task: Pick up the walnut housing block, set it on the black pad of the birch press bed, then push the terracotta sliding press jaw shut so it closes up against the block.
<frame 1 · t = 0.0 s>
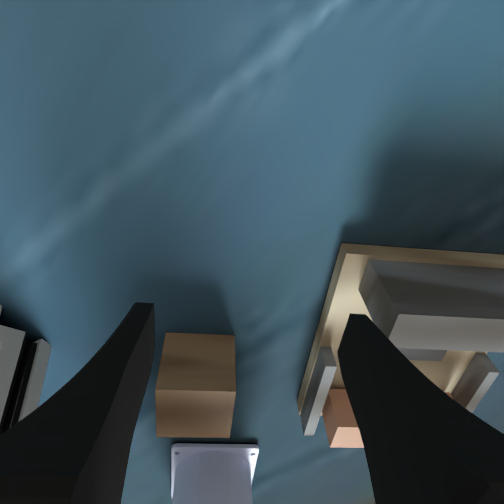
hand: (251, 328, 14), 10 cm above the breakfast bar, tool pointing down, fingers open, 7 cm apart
housing block: (199, 356, 29), on the breakfast bar
press bed: (398, 338, 29), on the breakfast bar
press jaw: (392, 418, 30), point 3 cm above the breakfast bar, slide at 0.0 cm
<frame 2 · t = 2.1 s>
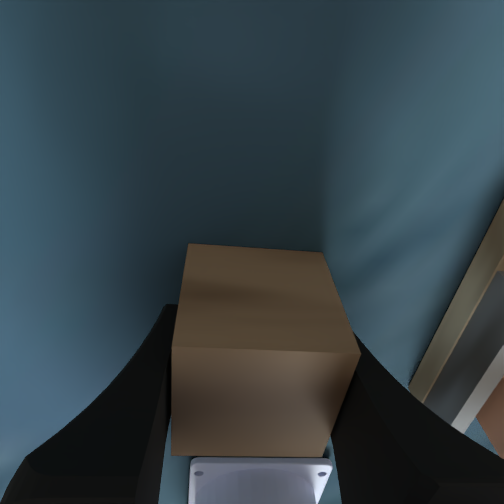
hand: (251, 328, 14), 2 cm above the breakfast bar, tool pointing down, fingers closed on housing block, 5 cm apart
housing block: (249, 300, 16), on the breakfast bar, touching gripper
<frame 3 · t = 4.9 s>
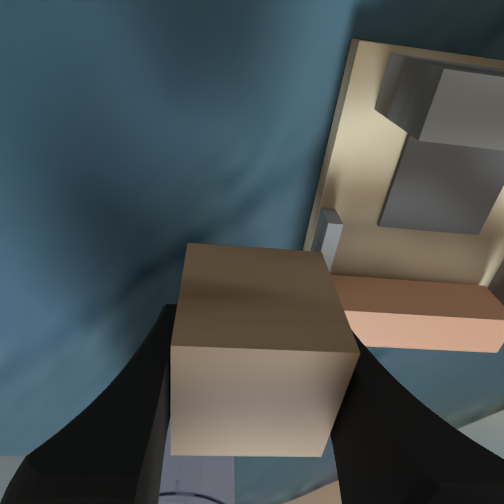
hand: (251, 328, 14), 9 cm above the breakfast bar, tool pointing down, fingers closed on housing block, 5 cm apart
housing block: (248, 299, 16), point 8 cm above the breakfast bar, touching gripper
press bed: (422, 208, 23), on the breakfast bar
press jaw: (413, 313, 23), point 3 cm above the breakfast bar, slide at 0.0 cm
when the fingers open (4 cm above the breakfast bar, at t = 7.5 s): housing block stays where it is, resting on press bed.
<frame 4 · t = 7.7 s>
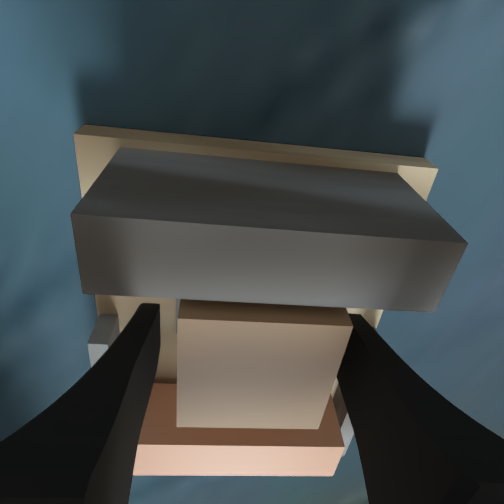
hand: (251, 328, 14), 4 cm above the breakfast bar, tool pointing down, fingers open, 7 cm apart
housing block: (249, 284, 16), point 1 cm above the breakfast bar, touching press bed
press bed: (241, 303, 19), on the breakfast bar
press jaw: (232, 428, 19), point 3 cm above the breakfast bar, slide at 0.0 cm
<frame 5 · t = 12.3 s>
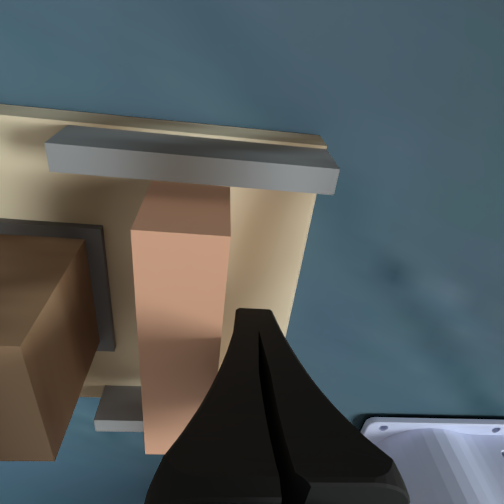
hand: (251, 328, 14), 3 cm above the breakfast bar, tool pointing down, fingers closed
housing block: (24, 291, 14), point 1 cm above the breakfast bar, touching press bed
press bed: (100, 273, 16), on the breakfast bar
press jaw: (184, 332, 14), point 3 cm above the breakfast bar, slide at 1.6 cm, touching gripper
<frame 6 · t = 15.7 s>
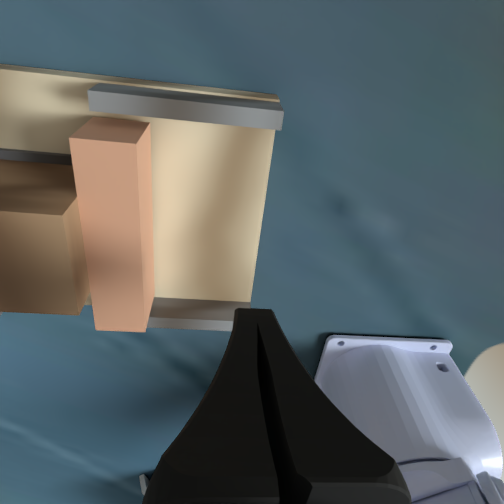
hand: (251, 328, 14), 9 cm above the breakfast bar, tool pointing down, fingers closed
housing block: (53, 210, 20), point 1 cm above the breakfast bar, touching press bed, press jaw
press bed: (116, 202, 21), on the breakfast bar
press jaw: (121, 232, 19), point 3 cm above the breakfast bar, slide at 4.4 cm, touching housing block
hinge: (205, 502, 41), on the breakfast bar
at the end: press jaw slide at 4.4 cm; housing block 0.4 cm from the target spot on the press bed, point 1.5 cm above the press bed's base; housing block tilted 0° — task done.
